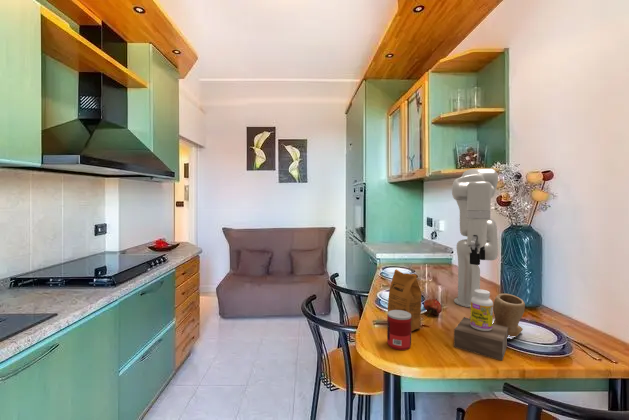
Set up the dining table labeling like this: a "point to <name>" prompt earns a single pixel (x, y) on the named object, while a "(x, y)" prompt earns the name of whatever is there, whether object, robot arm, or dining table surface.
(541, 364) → the dining table surface
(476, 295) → the supplement bottle
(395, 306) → the coffee package
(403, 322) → the canned food
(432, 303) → the pomegranate
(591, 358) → the dining table surface
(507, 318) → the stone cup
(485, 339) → the block
